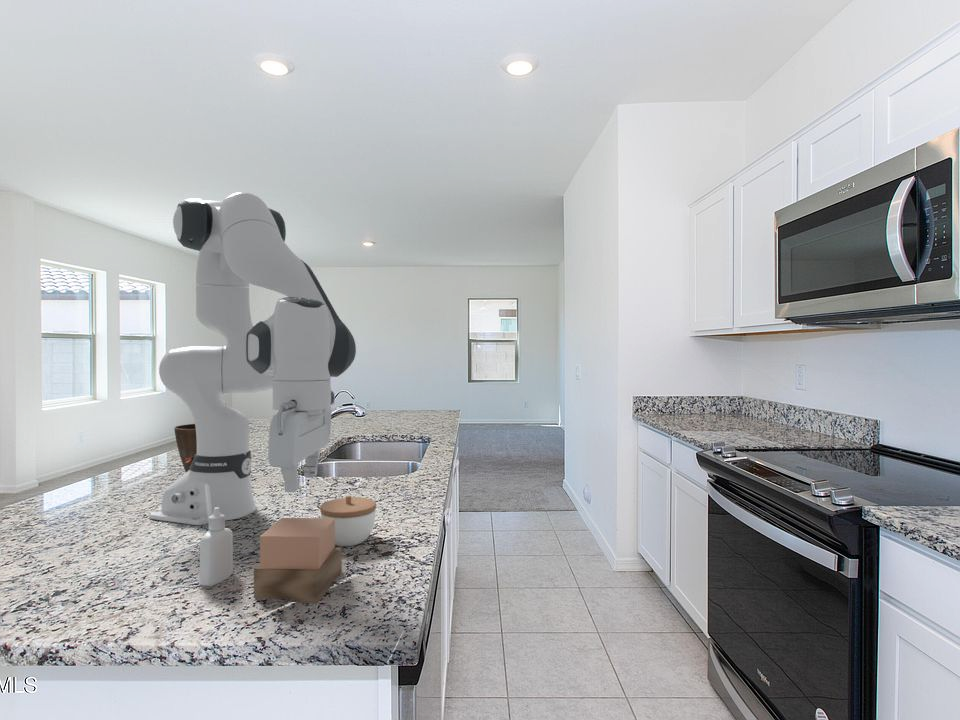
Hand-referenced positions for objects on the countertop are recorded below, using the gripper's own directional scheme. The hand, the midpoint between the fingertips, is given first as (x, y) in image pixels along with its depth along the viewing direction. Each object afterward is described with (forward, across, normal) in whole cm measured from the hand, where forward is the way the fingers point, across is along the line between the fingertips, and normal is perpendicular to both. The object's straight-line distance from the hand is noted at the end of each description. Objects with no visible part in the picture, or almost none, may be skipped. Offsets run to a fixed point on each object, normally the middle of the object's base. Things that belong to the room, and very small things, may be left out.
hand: (301, 483), depth 85 cm
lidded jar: (+17, +20, -3) cm, 26 cm away
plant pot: (+17, +74, +52) cm, 92 cm away
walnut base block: (+17, 0, 0) cm, 17 cm away
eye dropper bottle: (+17, +2, +15) cm, 22 cm away
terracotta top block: (+12, 0, 0) cm, 12 cm away
